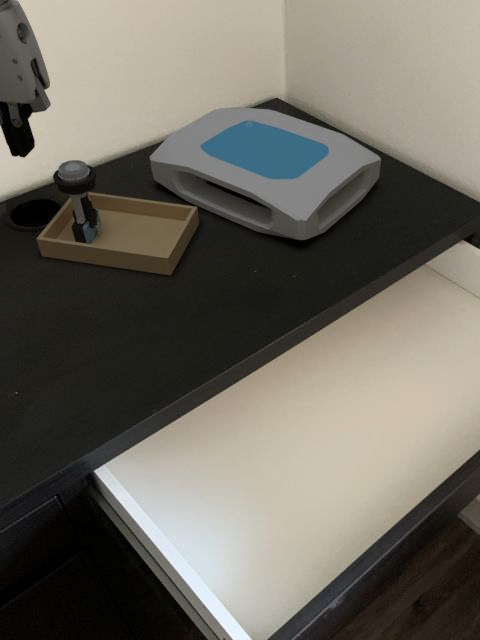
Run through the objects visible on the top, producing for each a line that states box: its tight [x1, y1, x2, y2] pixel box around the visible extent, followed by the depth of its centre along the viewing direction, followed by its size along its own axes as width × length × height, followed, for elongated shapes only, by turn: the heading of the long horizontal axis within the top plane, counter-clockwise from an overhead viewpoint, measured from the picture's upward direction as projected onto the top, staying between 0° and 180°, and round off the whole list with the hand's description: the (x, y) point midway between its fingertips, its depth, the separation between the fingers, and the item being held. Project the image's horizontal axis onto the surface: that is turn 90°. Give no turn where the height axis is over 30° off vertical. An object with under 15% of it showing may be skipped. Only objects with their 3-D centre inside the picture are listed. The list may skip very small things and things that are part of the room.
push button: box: [52, 159, 102, 244], centre depth 88 cm, size 7×5×10 cm
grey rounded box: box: [149, 106, 382, 241], centre depth 99 cm, size 21×28×6 cm
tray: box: [35, 191, 200, 277], centre depth 91 cm, size 18×12×3 cm
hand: (23, 151), depth 85 cm, fingers closed
